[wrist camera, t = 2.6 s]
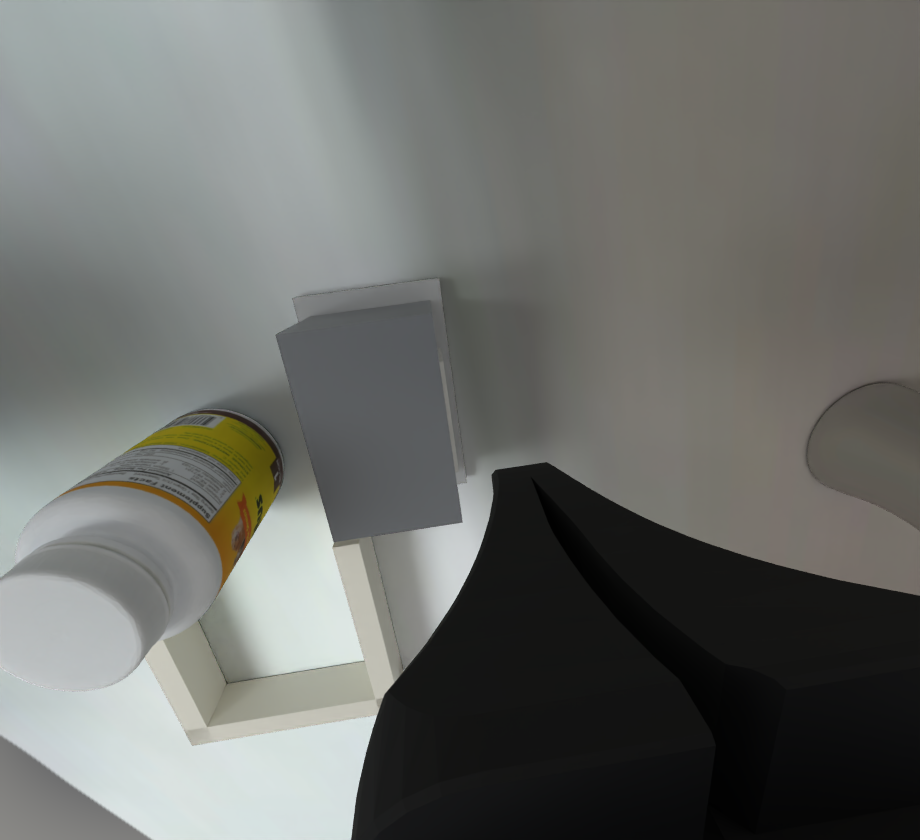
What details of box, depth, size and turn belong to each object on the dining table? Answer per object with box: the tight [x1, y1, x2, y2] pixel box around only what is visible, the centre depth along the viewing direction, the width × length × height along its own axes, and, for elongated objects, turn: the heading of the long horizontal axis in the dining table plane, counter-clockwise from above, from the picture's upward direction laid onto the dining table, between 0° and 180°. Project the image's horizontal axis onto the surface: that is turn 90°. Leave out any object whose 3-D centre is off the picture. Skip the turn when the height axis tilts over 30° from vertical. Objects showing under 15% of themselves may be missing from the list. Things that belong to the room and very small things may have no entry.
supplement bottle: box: [0, 409, 284, 691], centre depth 16 cm, size 6×6×10 cm
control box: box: [276, 278, 467, 542], centre depth 18 cm, size 6×10×5 cm, turn 7°
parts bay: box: [145, 537, 403, 746], centre depth 23 cm, size 11×11×2 cm
